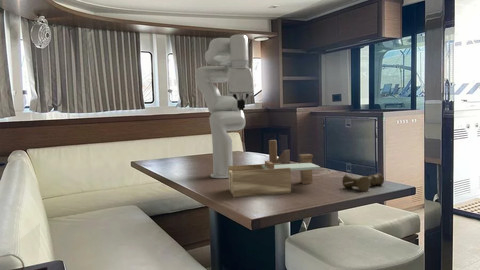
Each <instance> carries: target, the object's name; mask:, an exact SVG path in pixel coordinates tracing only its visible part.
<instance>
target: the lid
mask: <svg viewBox="0 0 480 270" xmlns="http://www.w3.org/2000/svg"><path fill="white" fill-rule="evenodd" d="M264 164H265V165H264V166H262V168H263V169H277V168H290V171H291V172H293V171H295V172H296V171H300V170H311V169H312V170H321V166H319V165H317V164H315V163H313V162H312V163H300V162H299V163H290V164H280V165H274V164H273V163H272V162H270V161H269V160H264Z"/></svg>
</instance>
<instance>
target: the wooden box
mask: <svg viewBox="0 0 480 270" xmlns="http://www.w3.org/2000/svg"><path fill="white" fill-rule="evenodd" d="M273 164H274V165H280V164H281V163H273ZM264 165H265V163H259V164H257V163H256V164H243V165H242V164H241V165H233V166H228V176H229V178H228V190H229V192H230V194H231V195H232V197H233V198H241V197H243V198H244V197H256V196H268V195H269V196H271V195H282V194H283V195H284V194H292V179H291V178H292V175H291V172H292V171H290V168H277V169H263V168H262V166H264Z"/></svg>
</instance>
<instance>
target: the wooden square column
mask: <svg viewBox="0 0 480 270" xmlns="http://www.w3.org/2000/svg"><path fill="white" fill-rule="evenodd" d="M298 157H299V163H312V164H313V158H314V154H311V153H303V154H302V153H301V154H298ZM299 173H300V175H299V176H300V182H301V183H302V184H303V185H305V184H306V185H307V184H313V169H311V170H299Z"/></svg>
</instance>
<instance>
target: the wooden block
mask: <svg viewBox="0 0 480 270" xmlns="http://www.w3.org/2000/svg"><path fill="white" fill-rule="evenodd" d="M277 143H278V142H277V140H276V139H270V140H268V157H269V160H268V161H270V162H272V163H281V164H291V150H290V149H285V150H283V151H282V153H281V154H280V155H279V156H278V144H277Z"/></svg>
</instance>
